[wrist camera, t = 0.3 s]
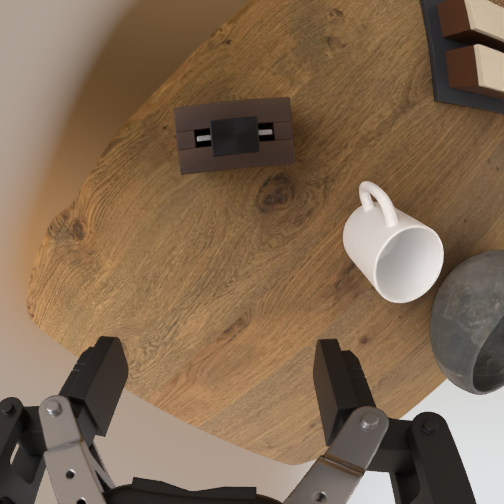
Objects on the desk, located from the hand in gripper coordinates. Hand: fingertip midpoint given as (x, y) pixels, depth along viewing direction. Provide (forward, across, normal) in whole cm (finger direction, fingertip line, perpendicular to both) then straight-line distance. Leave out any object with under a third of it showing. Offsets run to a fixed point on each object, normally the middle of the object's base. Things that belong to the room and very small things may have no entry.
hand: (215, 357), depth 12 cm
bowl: (+27, -34, +14) cm, 46 cm away
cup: (+26, -15, +3) cm, 30 cm away
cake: (+28, -32, -22) cm, 47 cm away
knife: (+25, 0, -7) cm, 26 cm away
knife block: (+25, 0, -7) cm, 26 cm away
